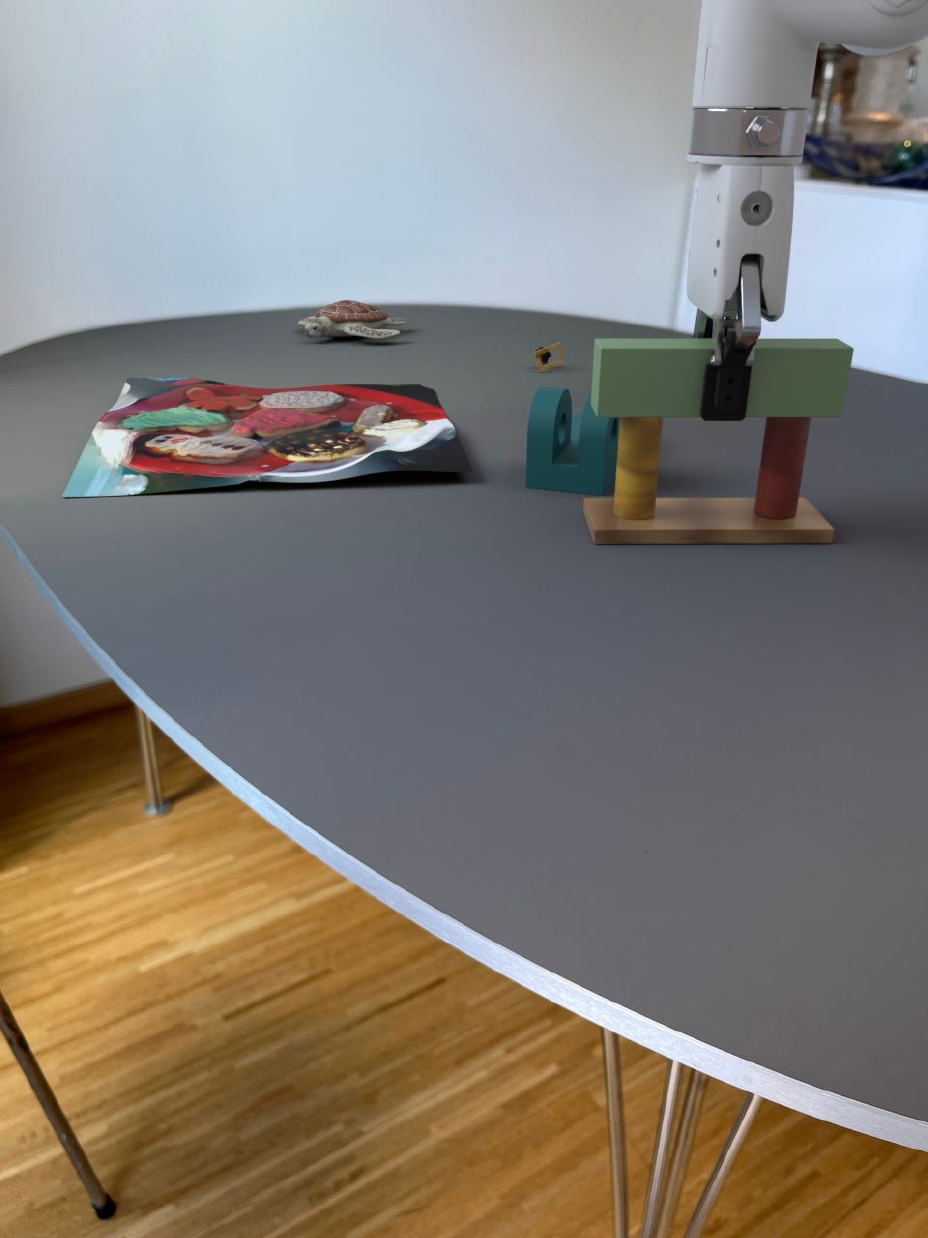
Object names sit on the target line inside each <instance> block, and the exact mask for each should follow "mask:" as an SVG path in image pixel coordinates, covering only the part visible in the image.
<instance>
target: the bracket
mask: <svg viewBox="0 0 928 1238" xmlns="http://www.w3.org/2000/svg"><path fill="white" fill-rule="evenodd" d="M591 393H592V390H590V392H589V393H588V395H587V397H586V399H585V401H584V402H585V403H584V407H583V410H582V413H577V414H573V401H572V395H571V392H570V390H569V388H563V387H552V386H539V387H538V388H537V389H536V391H535V393H534V395H533V398H532V401H531V405H530V409H529V413H528V419H527V429H526V430H527V431H526V454H525V455H526V457H525V458H526V459H525V488H530V489H539V490H545V491H555V492H566V493H574V494H582V495H591V496H592V495H593V496H598V497H599V496H600V497H603V496H604V494H605V492H606V491H607V489H608V488H609V487H610V485H611V483H612V482H613V481H614V480H615V479H616V465H617V451H618V437H619V423H620V417H597V416H596V414H595V412H594V410H593V408H592V406H591Z"/></svg>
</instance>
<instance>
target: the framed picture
mask: <svg viewBox="0 0 928 1238" xmlns="http://www.w3.org/2000/svg"><path fill="white" fill-rule="evenodd" d="M553 350H555V351H556V355H557V359H558V360H555V361H553V362H551V363H549V359H550V358H552V352H551V351H553ZM533 356H534V360H535V364H536V368H537V372H538V373H541V372H545V371H547V370H550V369H552V368H554V367H558V366H559V365H562V364H564V363H566V360H565V356H564V352H563V348H562V344H561V342H560V341H559V342H557V343H554V344H551V345H549V346H546V347H545V346H540V347H538V349H535V351H534V352H533Z"/></svg>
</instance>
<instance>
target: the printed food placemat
mask: <svg viewBox="0 0 928 1238" xmlns="http://www.w3.org/2000/svg"><path fill="white" fill-rule="evenodd" d="M397 471H398V472H400V471H402V472H403V471H405V472H406V471H412V472H413V471H414V472H449V473H473V470H472V466H471V464H470V460H469V458H468V456H467V453H466V451H465V448H464V447H463V445H462V443H461V440H460V438H459V435H458V432H457V430H456V428H455V426H454V425H453V424H452V422H451V421H450V420H449V418H447V416H446V414H445V412H444V411H443V408H442V405H441V404H440V401H439V400H438V396H437V394H436V391H435V389H434V388H432V387H429V386H424V385H423V384H421V383H339V384H338V383H337V384H336V383H335V384H317V385H308V386H297V387H296V386H295V387H285V388H284V387H281V388H279V387H278V388H267V387H266V388H265V387H264V388H263V387H251V386H243V385H236V384H229V383H225V382H220V381H214V380H209V379H205V378H197V377H180V376H179V377H178V376H176V377H175V376H174V377H164V376H163V377H127V378H126V380H125V382H124V385H123V387H122V390H121V391H120V394H119V396H118V399H117V400H116V402H115V404H114V405H113V406H112V408H110V409H109V410H107V411H106V413H104V414H103V415H102V416H101V417H100V419H98V422H97V423H96V425H95V427H94V428H93V430H92V432H91V434H90V436H89V438H88V440H87V442H86V444H85V446H84V448H83V451H82V453H81V455H80V457H79V460H78V462H77V464H76V466H75V468H74V470H73V472H72V474H71V477H70V479H69V481H68V482H67V484H66V487H65V489H64V491H63V493H62V496H61V498H88V497H90V498H91V497H94V498H95V497H113V496H114V497H117V496H118V497H119V496H134V495H144V494H145V495H148V494H156V493H165V492H175V491H176V492H177V491H186V490H195V489H204V488H205V489H206V488H215V487H225V486H233V485H240V484H242V483H245V482H248V481H250V482H255V483H260V482H262V483H263V482H269V483H271V482H274V483H321V482H330V481H338V480H343V479H344V480H345V479H349V478H354V477H360V476H365V475H370V474H377V473H383V472H397Z"/></svg>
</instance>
